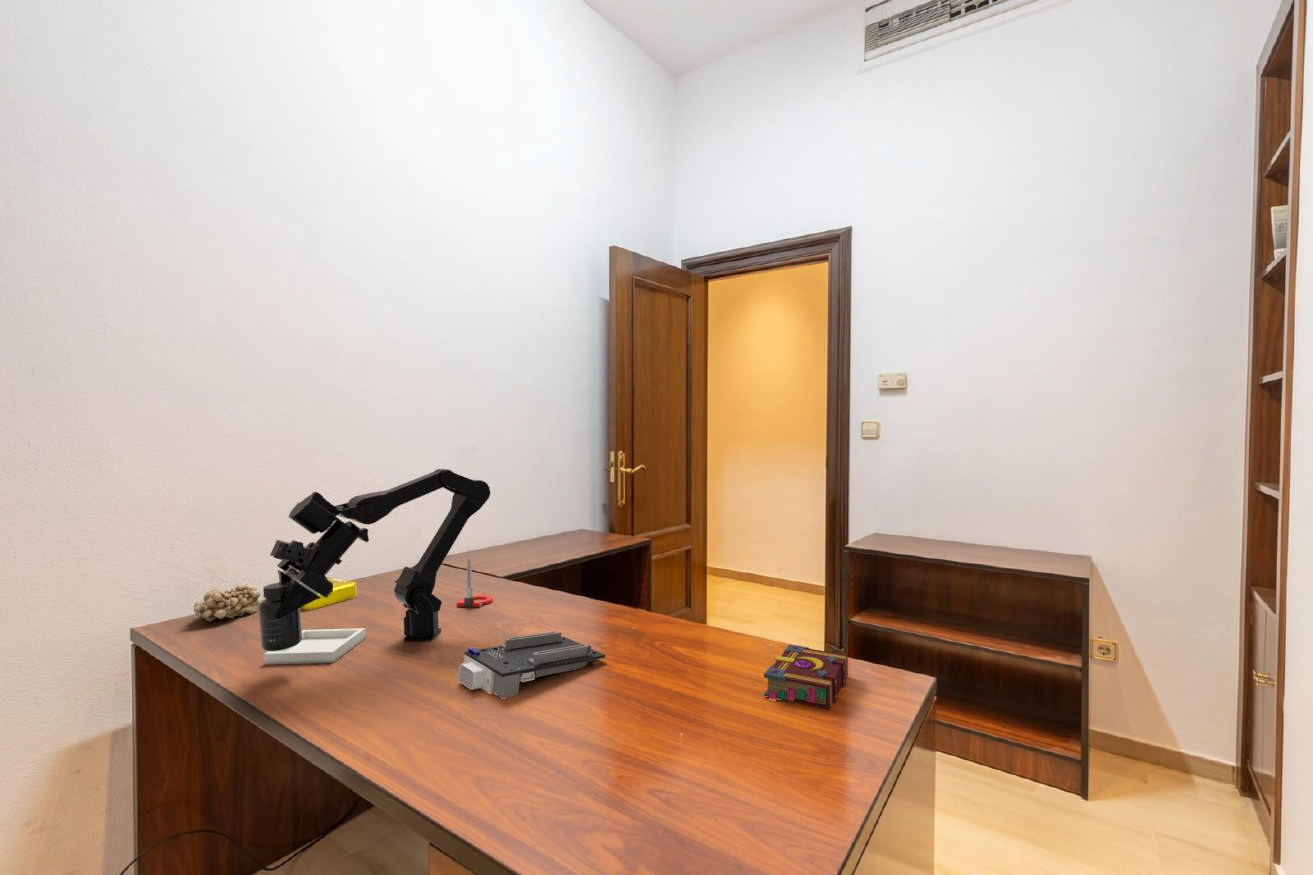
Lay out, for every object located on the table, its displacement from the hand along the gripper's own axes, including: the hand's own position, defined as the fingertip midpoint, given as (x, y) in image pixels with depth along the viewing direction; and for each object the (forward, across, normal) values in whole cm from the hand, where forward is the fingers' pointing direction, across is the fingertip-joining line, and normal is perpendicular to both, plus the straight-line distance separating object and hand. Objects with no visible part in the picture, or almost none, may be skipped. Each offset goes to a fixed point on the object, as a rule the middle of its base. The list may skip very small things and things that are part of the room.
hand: (271, 613), depth 116 cm
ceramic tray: (+2, -9, +16) cm, 18 cm away
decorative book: (-36, +78, +56) cm, 103 cm away
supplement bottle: (+4, 0, +6) cm, 7 cm away
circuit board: (-16, +35, +35) cm, 52 cm away
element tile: (-5, -51, +24) cm, 57 cm away
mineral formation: (+10, -52, +8) cm, 54 cm away
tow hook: (-26, -15, +45) cm, 54 cm away
